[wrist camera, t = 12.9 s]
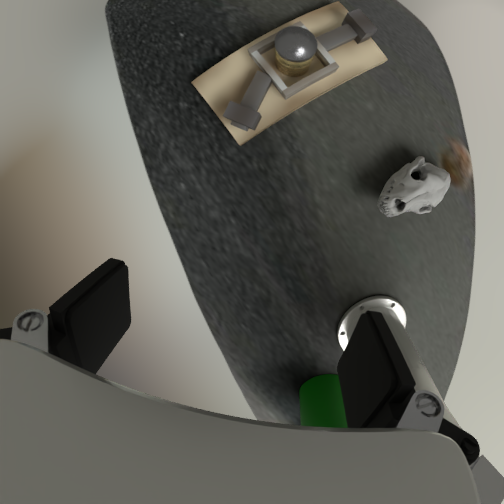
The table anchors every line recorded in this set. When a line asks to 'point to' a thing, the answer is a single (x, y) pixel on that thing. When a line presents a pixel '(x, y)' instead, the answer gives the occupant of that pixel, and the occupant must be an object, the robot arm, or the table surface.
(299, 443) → the robot arm
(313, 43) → the gold cylinder
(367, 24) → the stand
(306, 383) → the green cylindrical cup
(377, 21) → the table surface
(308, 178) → the table surface
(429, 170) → the skull
